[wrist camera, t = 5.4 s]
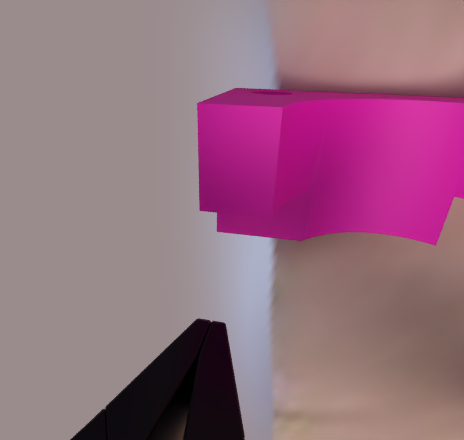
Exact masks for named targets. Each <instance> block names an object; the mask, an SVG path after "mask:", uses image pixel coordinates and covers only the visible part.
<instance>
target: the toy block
mask: <svg viewBox="0 0 464 440" xmlns="http://www.w3.org/2000/svg"><path fill="white" fill-rule="evenodd" d="M197 106H198V107H197V108H198V109H197V110H198V154H199V200H200V211H208V212H217V232H225V233H235V234H244V235H252V236H262V237H270V238H279V239H288V240H298V241H302V240H305V239H308V238H311V237H315V236H319V235H324V234H330V233H340V232H367V233H379V234H387V235H393V236H399V237H404V238H409V239H413V240H417V241H422V242H425V243H429V244H432V245H436V244H437V241H438V238H439V236H440V233H441V230H442V228H443V225H444V222H445V220H446V217H447V214H448V212H449V209H450V206H451V204H452V201H453V198H454V196H455V197H459V198H464V98H461V97H436V96H412V95H388V94H364V93H339V92H315V91H291V90H273V89H248V88H247V89H246V88H235V89H233V90H230V91H227V92H225V93H222V94H220V95H217V96H215V97H212V98H210V99H207V100H204V101H202V102H199V103H197Z"/></svg>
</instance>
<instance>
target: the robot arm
mask: <svg viewBox="0 0 464 440" xmlns="http://www.w3.org/2000/svg"><path fill="white" fill-rule="evenodd" d="M244 438H245V436H244V430H243V424H242V418H241V412H240V406H239V400H238V394H237V388H236V382H235V376H234V370H233V365H232V358H231V353H230V347H229V341H228V335H227V329H226V324H225V323H223V322H217V321H212V322H211V321H210V320H204V319H196V320H195V321H194V322H193V323H192V324H191V325H190V326H189V327H188V328H187V329H186V330H185V331H184V332H183V333H182V334H181V335H180V336H179V337H178V338H177V339H176V340H174V342H172V343H171V344H170V345H169V346H168V347H167V348H166V349H165V350H164V351H163V352H162V353H161V354H160V355H159V356H158V357H157V358H156V359H155V360H154V361H153V362H152V363H151V364H149V365H148V366H147V367H146V369H144V370H143V371H142V372H141V373H140V374H139V375H138V376H137V377H136V378H135V379H134V380H133V381H132V382H131V383H130V384H129V385H128V386H127V387H126V388H125V389H123V390H122V391H121V392H120V393H119V394H118V396H116V397H115V398H114V399H113V400H112V401H111V402H110V403H109V404H108V405H107V406H106V409H103V410H101V411H100V413H98V414H97V415H96V416H95V417H94V418H93V419H92V420H91V421H90V422H89V423H88V424H87V425H86V426H85V427H84V428H82V429H81V430H80V431H79V432H78V433H77V434H76V435H75V436H74V437H73V438H72V439H71V440H245V439H244Z"/></svg>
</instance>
